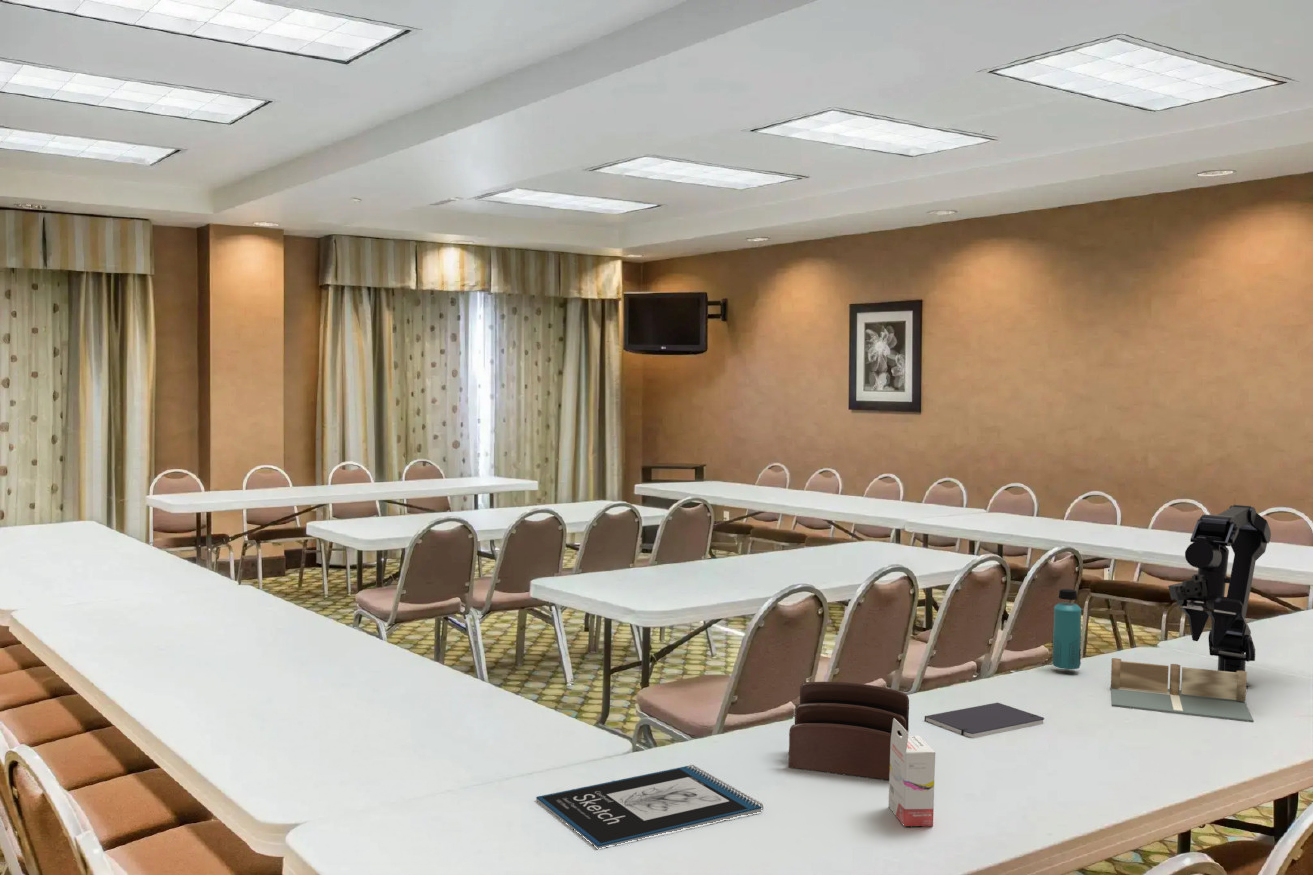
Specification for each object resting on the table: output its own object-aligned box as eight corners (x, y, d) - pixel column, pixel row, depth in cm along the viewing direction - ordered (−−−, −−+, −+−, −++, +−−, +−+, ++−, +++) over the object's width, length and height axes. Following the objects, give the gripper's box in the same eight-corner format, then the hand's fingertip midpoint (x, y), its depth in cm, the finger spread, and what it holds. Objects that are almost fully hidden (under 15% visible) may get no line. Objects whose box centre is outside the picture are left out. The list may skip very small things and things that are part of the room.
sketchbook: (536, 805, 178) (536, 792, 178) (693, 774, 193) (693, 762, 193) (598, 853, 160) (598, 839, 160) (766, 815, 175) (766, 802, 175)
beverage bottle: (1082, 676, 262) (1085, 592, 261) (1053, 674, 263) (1056, 591, 262) (1077, 669, 268) (1080, 587, 267) (1049, 667, 270) (1052, 586, 269)
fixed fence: (1110, 688, 252) (1111, 657, 252) (1178, 695, 247) (1180, 664, 246) (1110, 690, 250) (1111, 659, 250) (1179, 697, 245) (1180, 666, 245)
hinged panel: (1181, 694, 245) (1182, 666, 244) (1181, 692, 247) (1182, 664, 246) (1246, 701, 240) (1247, 673, 240) (1245, 699, 242) (1246, 671, 242)
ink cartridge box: (935, 827, 170) (938, 733, 169) (903, 828, 170) (906, 733, 169) (917, 806, 179) (920, 716, 178) (887, 806, 178) (889, 716, 177)
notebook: (997, 709, 236) (924, 723, 225) (997, 702, 236) (924, 715, 225) (1046, 725, 225) (971, 741, 214) (1046, 718, 225) (971, 733, 214)
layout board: (1110, 684, 255) (1111, 682, 255) (1242, 698, 245) (1242, 696, 245) (1111, 706, 238) (1111, 703, 238) (1253, 722, 228) (1253, 719, 228)
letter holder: (799, 751, 205) (800, 676, 204) (908, 765, 199) (910, 687, 198) (787, 768, 196) (789, 690, 195) (901, 783, 189) (904, 702, 188)
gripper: (1157, 565, 254) (1150, 633, 252) (1195, 567, 235) (1187, 640, 234) (1206, 573, 254) (1199, 641, 252) (1248, 575, 235) (1240, 648, 234)
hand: (1204, 642), depth 243 cm, fingers open, 9 cm apart
